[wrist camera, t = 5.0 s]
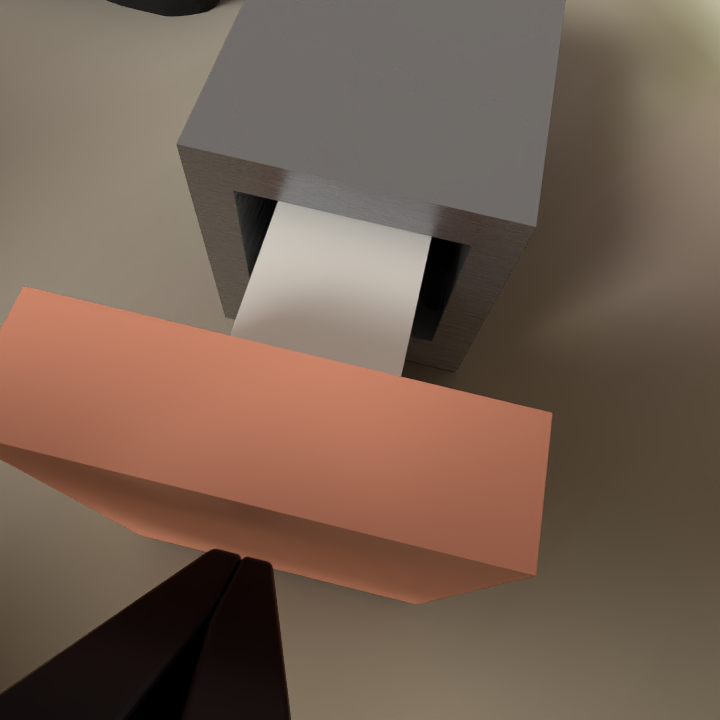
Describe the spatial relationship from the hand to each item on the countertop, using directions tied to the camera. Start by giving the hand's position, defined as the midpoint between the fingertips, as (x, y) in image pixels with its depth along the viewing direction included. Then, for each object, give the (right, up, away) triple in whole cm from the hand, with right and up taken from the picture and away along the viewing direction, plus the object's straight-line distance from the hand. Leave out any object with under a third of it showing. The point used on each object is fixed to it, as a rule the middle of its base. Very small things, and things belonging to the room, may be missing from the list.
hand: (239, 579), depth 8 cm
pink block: (+1, +3, +9) cm, 9 cm away
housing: (+2, +8, +12) cm, 14 cm away
